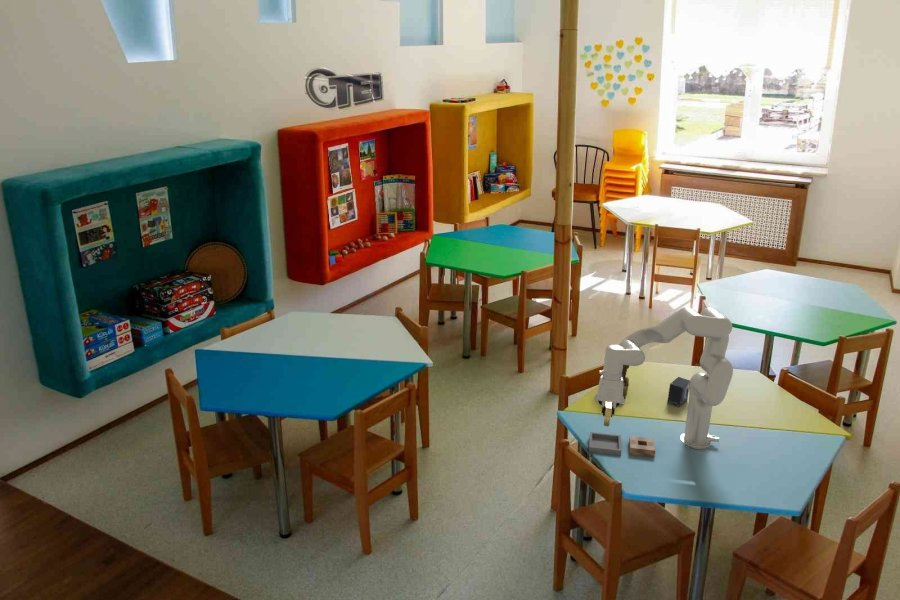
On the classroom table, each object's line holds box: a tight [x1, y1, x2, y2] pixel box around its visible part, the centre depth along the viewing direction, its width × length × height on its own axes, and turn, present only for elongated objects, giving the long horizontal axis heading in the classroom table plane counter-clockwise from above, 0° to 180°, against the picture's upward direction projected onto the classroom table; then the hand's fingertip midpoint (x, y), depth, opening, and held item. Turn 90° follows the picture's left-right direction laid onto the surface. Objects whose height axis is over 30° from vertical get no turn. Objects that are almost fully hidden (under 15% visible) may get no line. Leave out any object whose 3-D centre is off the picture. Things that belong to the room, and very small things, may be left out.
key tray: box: [588, 431, 623, 456], centre depth 326 cm, size 13×13×3 cm
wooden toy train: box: [622, 365, 630, 401], centre depth 373 cm, size 20×11×17 cm, turn 163°
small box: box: [666, 376, 690, 408], centre depth 367 cm, size 11×6×10 cm, turn 143°
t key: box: [603, 402, 613, 427], centre depth 321 cm, size 8×2×9 cm, turn 169°
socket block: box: [628, 435, 656, 458], centre depth 323 cm, size 10×10×4 cm
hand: (607, 414), depth 321 cm, fingers closed on t key, 2 cm apart
